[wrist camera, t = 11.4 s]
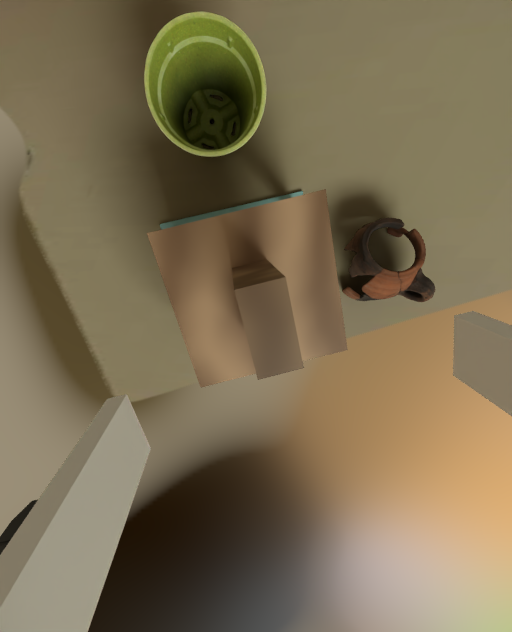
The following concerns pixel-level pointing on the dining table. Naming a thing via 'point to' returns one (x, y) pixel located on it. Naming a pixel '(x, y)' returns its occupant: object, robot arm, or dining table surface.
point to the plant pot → (205, 83)
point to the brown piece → (254, 288)
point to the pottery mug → (385, 280)
